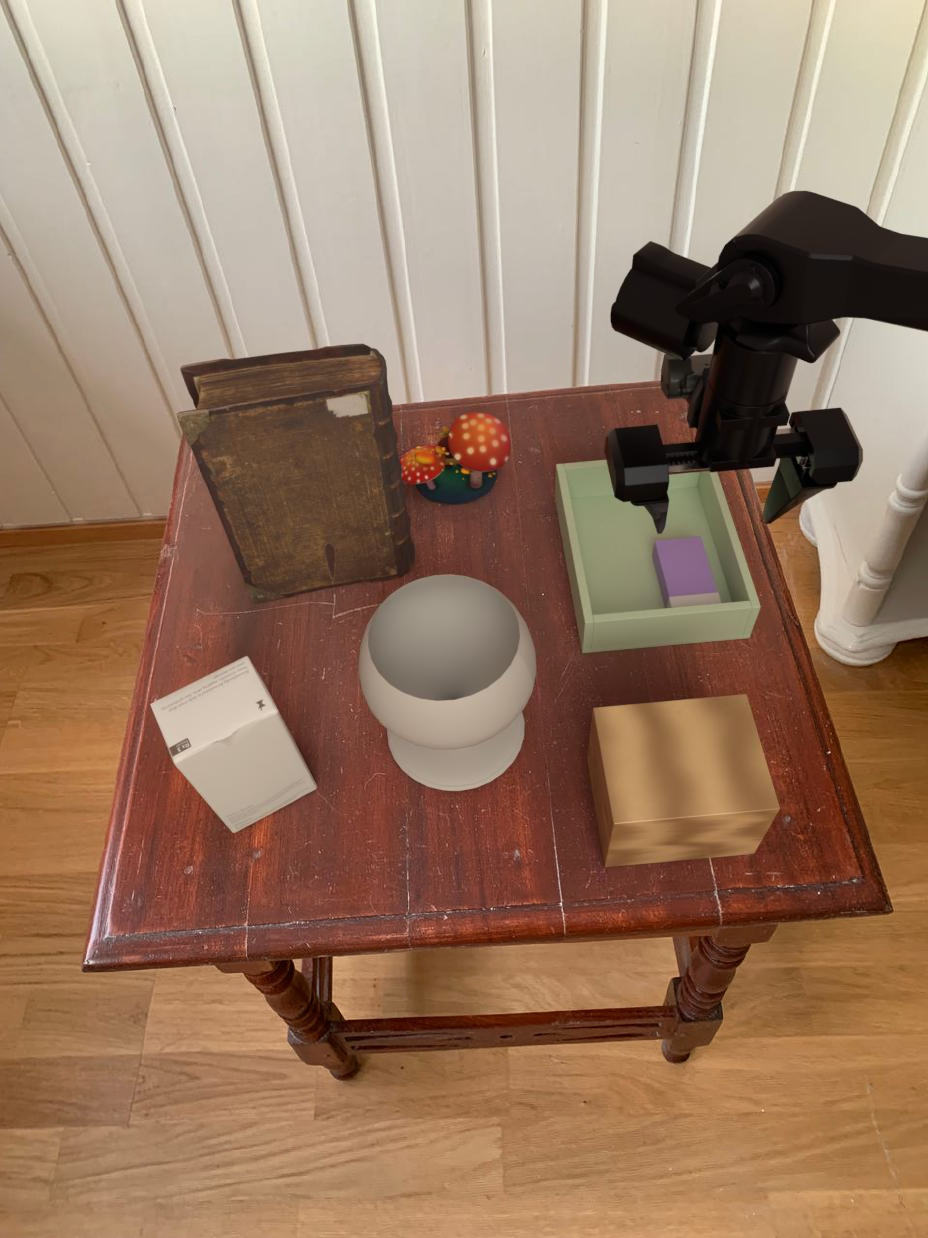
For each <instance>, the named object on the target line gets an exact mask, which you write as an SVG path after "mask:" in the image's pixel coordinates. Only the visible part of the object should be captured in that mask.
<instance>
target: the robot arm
mask: <svg viewBox="0 0 928 1238" xmlns="http://www.w3.org/2000/svg"><path fill="white" fill-rule="evenodd" d="M609 314H610V315H609V317H610V318H609V319H610V325H611V328H612V329H613V331H615V332H616V333H619V334H621V335H623V336H625V337H627V338H630V339H632V340H634V341H636V342H639V343H641V344H643V345H645V346H647V347H649V348H652V349H654V350H657V351H658V352H661V353H663V359H662V363H661V369H660V389H661V390H660V391H662V393H663V394H664V396H665V398H666V399H667V400H676V399H683V400H685V401H686V402H687V404H688V407H687V414H686V422H687V425H688V428H689V429H695V430H696V432H695V436H694V441H688V442H676V443H666V444H664V443H663V439H662V435H661V433H660V429H659V426H658V423H657V424H646V425H645V424H644V425H636V426H635V425H633V426H623V427H614V428H611V429H610V430H609V432H608V433H607V434H606V435H605V441H604V451H603V452H604V456H605V460H606V461H607V465H608V470H609V474H610V479H611V483H612V488H613V492H614V496H615V498H617V499H618V500H620V501H622V502H631V504H632V505H634V506H644V507H645V508H646V510H647V511H648V512H649V514H650V515H651V516H652V518H653V522H654V525H655V528H656V531H657V534H662V532H663V530H664V528H665V525H666V519H667V512H668V506H669V497H668V493H667V491H668V487H669V475H671V474H682V473H693V472H704V471H710V473H711V472H717V473H719V472H720V473H721V472H731V471H732V472H733V471H742V470H753V469H764V468H774V467H775V465H776V462H777V460H778V459H779V463H778V466H777V468H776V471H775V474H774V477H773V479H772V483H771V485H770V488H769V490H768V493H767V496H766V498H765V501H764V505H763V511H762V518H763V522H764V523H765V524H766V525H770V524H773V523H774V522H775V521H777V520H778V519H780V518H782V516H784V515H786V514H787V513H789V512H790V511H792V510H793V509H794V508H796V507H798V506H799V505H801V504H802V503H804V502H806V501H807V500H809V499H811V498H813V497H815V496H816V495H818V494H820V493H821V492H824V491H826V490H831V489H835V488H836V486H837V485H838V483H839V484H840V483H847V482H853V481H854V480H855V478H856V477H857V476H858V473H859V471H860V468H861V466H862V464H863V463H864V449H863V447H862V445H861V442H860V439H859V438H858V436H857V434H856V431H855V429H854V426H853V425H852V423H851V421H850V418H849V416H848V414H847V413H846V411H844V409H843V408H842V407H831V408H819V409H809V410H808V409H807V410H797V411H792V412H791V413H790V411H789V407H788V406H787V403H786V401H787V398H788V395H789V391H790V388H791V385H792V381H793V379H794V374H795V370H796V368H797V364H798V361H799V360H801V361H803V362H806V363H808V364H814V363H816V362H817V361H818V360H819V359H820V358H821V356H823V354H824V353H825V352H826V351H827V350H828V349H829V348H830V347H831V346H832V345H833V343H835V342H836V340H838V338H839V337H840V336H841V330H840V329H841V328H839V326H838V325H837V324H836V322H835V321H834V320H838V319H841V318H842V319H843V318H844V319H845V318H848V319H849V318H850V319H865V320H871V321H875V322H879V323H884V324H889V325H893V326H898V327H903V328H908V329H912V330H917V331H922V332H925V333H928V237H925V236H920V235H913V234H907V233H901V232H898V231H895V230H893V229H889V228H887V227H883V226H881V225H879V223H877V222H876V221H874V220H873V218H871V217H870V216H869V215H867V214H866V213H865V212H864V211H863V210H862V209H860V208H859V207H858V206H856V205H853V204H849V203H847V202H845V201H841V200H837V199H834V198H831V197H829V196H826V195H822V194H820V193H817V192H813V191H809V190H792V191H788V192H785V193H782V195H780V196H779V197H777V198H775V200H774V201H772V202H771V203H770V204H768V206H767V207H766V208H765V209H762V211H761V212H760V213H759V214H757V216H755V217H754V218H753V219H752V220H751V221H750V222H749V223H748V224H746V225H745V226H744V227H743V228H742V229H741V230H740V231H739V232H738V233H736V235H734V236H733V237H732V238H731V239H730V240H728V241H727V242H726V243H725V244H724V246H723V247H722V250H721V252H720V253H719V255H718V259H717V262H715V264H714V265H712V266H711V267H710V266H708V265H705V264H703V263H701V262H698V261H696V260H693V259H690V258H688V257H686V256H683V255H680V254H678V253H675V252H674V251H672V250H670V249H669V248H667V247H666V246H664V245H661V244H660V243H657V242H654V241H652V240H650V241H648V242H647V243H645V244H644V245H643V246H642V247H641V248H640V249H638V250H636V252H635V253H634V254H633V255H632V261H631V268H630V269H629V271H628V272H627V274H626V275H625V277H624V279H623V281H622V283H621V285H620V287H619V290H618V292H617V295H616V297H615V301H614V302H613V303H612V304H611V307H610V313H609ZM712 344H713V347H712V353H706V354H705V353H704V352H706V351H707V350H709V348H710V347H711V346H712ZM695 352H697V353H700V354H694V353H695ZM693 354H694V355H693ZM788 425H789V427H787V428H779V427H786V426H788Z"/></svg>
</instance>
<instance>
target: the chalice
mask: <svg viewBox="0 0 928 1238" xmlns="http://www.w3.org/2000/svg"><path fill="white" fill-rule="evenodd" d="M374 611H375V612H374V613H373V614H372V616H371V618H370V619H369V621H368V622H367V625H366V626H365V627H366V628H365V631H364V634H363V636H362V639H361V642H360V646H359V658H358V679H359V683H360V688H361V693H362V695H363V698H364V699H365V701H366V704H367V705H368V708H369V710H370V712H371V714H372V715H373V716H374V717H375V718H376V719H377V720H378V721H379V723H380V724H381V725H382V727H384V728H385V729H386V735H387V742H388V748H389V750H390V752H391V755H392V757H393V760H394V761H395V762H396V763H397V765H398V766H399V768H400V769H401V770H402V771H403V772H404V773H405V774H407V776H409V777H410V778H411V779H412V780H414V781H416V782H417V783H420V784H422V785H424V786H426V787H428V788H432V789H436V790H439V791H449V792H452V791H453V792H461V791H467V790H473V789H477V788H479V787H481V786H484V785H486V784H489V783H491V782H492V781H494V780H496V779H497V778H498V777H499V776H501V775H503V774H504V773H505V772H506V771H507V770H508V769H509V767H510V766H511V765H512V764H513V763H514V761H515V760H516V759H517V756H518V755H519V753H520V751H521V750H522V746H523V743H524V738H525V724H526V723H525V717H524V714H523V711H524V710H525V708H526V706H527V704H528V702H529V700H530V699H531V696H532V694H533V690H534V686H535V683H536V677H537V670H538V669H537V655H536V653H537V652H536V647H535V644H534V641H533V639H532V638H533V637H532V635H531V633H530V629H529V627H528V625H527V622H526V621H525V619H524V617H523V616H522V615H521V613H520V612H519V610H518V609H517V607H516V605H515V604H514V603H513V602H512V601H511V600H510V599H509V598H508V597H506V596H505V595H504V593H502V592H501V591H500V590H498V588H496V587H494V586H492V585H490V584H488V583H487V582H484V580H483V581H482V580H480V579H477V578H473V577H471V576H467V575H460V574H451V573H450V574H448V573H445V574H433V575H429V576H425V577H421V578H418V579H415V580H413V581H411V582H408V583H405V584H403V585H402V586H401V587H399V588H398V589H396V590H395V591H393V592H392V593H390V594H389V595H388V596H387V597H386V598H385V599H384V600H383V601H382V602H381V603H380V604H379V605H378V607H376V610H374Z"/></svg>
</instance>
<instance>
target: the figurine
mask: <svg viewBox="0 0 928 1238" xmlns="http://www.w3.org/2000/svg"><path fill="white" fill-rule="evenodd" d="M437 435H438V436H439V437H441V438H440V439H439V440H438V442H437V444H436V445H420V446H419V445H416V447H414V448H412V449H409V450H407V451H406V452H405V453H404V454H403V455H402V456H401V457H400V458H399V459H400V462H401V464H402V483H405V484H407V485H408V484H409V485H415V487H416V489H417V490H418V492H419V493H420V494H421V495H422V497H424V498H425V499H427V500H429V501H431V502H433V503H437V504H442V505H462V504H469V503H473V502H475V501H477V500H479V499H482V498H484V497H485V496H487V495H489V493H490V492H491V491H492V489H493V488H494V486H495V485H496V482H497V478H498V469H500V468H501V467H503V466H505V464H506V463H507V462H508V460H509V458H510V454H511V452H512V451H511V450H512V441H511V440H512V439H511V435H510V433H509V431H508V429H507V426H506V425H505V424H504V423H503V422H502V420H500V419H499V418H497V417H496V416H493V415H492V414H490V413H486V412H480V411H477V412H476V411H475V412H473V411H471V412H467V413H464V414H461V415H460V416H458V417H457V418H455V420H454V421H453V422H452V423H451V425H450V427H449V428H447V427H446V426H442V432H441V433H439V434H437Z"/></svg>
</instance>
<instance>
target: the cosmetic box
mask: <svg viewBox="0 0 928 1238" xmlns="http://www.w3.org/2000/svg"><path fill="white" fill-rule="evenodd" d="M149 705H150V707H151V710H152V712H153V715H154V718H155V720H156V722H157V726H158V728H159V730H160V733H161V735H162V737H163V740H164V742H165V745H166V747H167V750H168V752H169V755H170V757H171V760H172V762H173V764H174V766H175V767H176V768H177V769H178V771H179V772H180V773H181V774H182V775H183V776H184V777H185V779H186V780H187V781H188V782H189V784H190V785H191V786H192V787H193V788H194V789H195V790H196V792H197V793H198V794H199V795H200V797H201V798H202V799H203V800H204V801H205V803H206V804H208V806H209V807H210V808H211V809H212V810H213V812H214V813H215V814H216V816H218V817H219V819H220V820H221V821H222V823H224V825H225V826H226V827H227V828H228V830H230V832H231V833H232V834H235V833H238V832H240V831H241V830H243V829H245V828H248V827H249V826H251V825H253V824H254V823H257V822H258V821H260V820H262V819H264V818H266V817H268V816H270V815H271V814H273V813H275V812H277V811H278V810H281V809H283V808H284V807H287V806H289V805H290V804H292V803H294V802H295V801H297V800H299V799H301V798H302V797H304V796H306V795H307V794H309V793H312V792H314V791H315V790H316V791H317V789H318V786H317V782H316V781H315V779H314V777H313V775H312V773H311V770H310V768H309V767H308V764H307V763H306V760H305V759H304V756H303V755H302V753H301V751H300V748H299V746H298V745H297V743H296V741H295V738H294V737H293V735H292V733H291V731H290V729H289V728H288V726H287V723H286V722H285V720H284V719H283V716H282V715H281V712H280V711H279V709H278V707H277V705H276V702H275V700H274V699H273V697H272V695H271V693H270V691H269V689H268V687H267V685H266V683H265V682H264V680H263V678H262V677H261V675H260V673H259V672H258V671H257V669H256V667H255V665H254V664H253V662H252V660H251V659H250V657H249V656H248V655H245V656H243V657H241V658H238V659H237V660H235V661H233V662H231V663H229V664H227V665H225V666H223V667H221V668H219V669H217V670H215V671H213V672H211V673H209V674H207V675H205V676H203V677H201V678H199V679H197V680H195V681H193V682H191V683H189V684H186V685H185V686H183V687H181V688H179V689H177V690H175V691H173V692H171V693H169V694H167V695H165V696H163V697H161V698H159V699H157V700H155V701H153V702H151V703H150V704H149Z"/></svg>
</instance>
